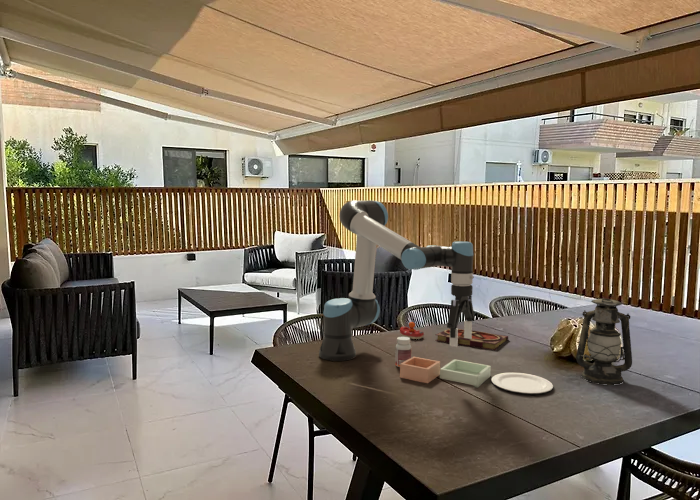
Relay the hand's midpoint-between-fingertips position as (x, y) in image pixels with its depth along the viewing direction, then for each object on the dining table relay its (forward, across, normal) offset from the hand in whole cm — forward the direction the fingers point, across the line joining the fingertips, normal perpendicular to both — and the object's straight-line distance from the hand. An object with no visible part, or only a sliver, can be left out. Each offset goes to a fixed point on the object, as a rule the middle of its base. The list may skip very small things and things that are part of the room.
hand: (460, 342), depth 190 cm
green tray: (+14, +2, -1) cm, 14 cm away
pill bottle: (+13, 0, +24) cm, 27 cm away
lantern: (+14, +29, -44) cm, 54 cm away
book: (+14, +53, +16) cm, 57 cm away
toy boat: (+13, +42, +41) cm, 60 cm away
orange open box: (+13, -8, +13) cm, 20 cm away
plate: (+14, +6, -20) cm, 26 cm away
